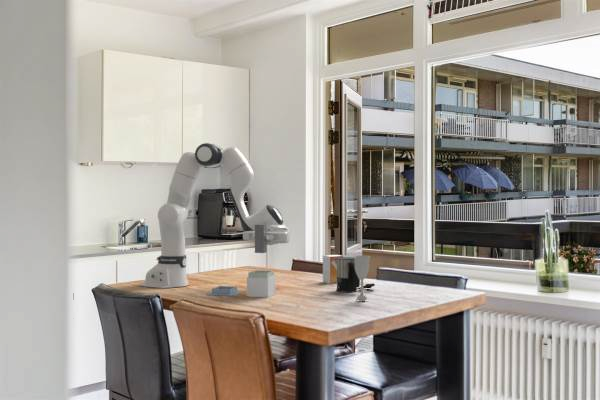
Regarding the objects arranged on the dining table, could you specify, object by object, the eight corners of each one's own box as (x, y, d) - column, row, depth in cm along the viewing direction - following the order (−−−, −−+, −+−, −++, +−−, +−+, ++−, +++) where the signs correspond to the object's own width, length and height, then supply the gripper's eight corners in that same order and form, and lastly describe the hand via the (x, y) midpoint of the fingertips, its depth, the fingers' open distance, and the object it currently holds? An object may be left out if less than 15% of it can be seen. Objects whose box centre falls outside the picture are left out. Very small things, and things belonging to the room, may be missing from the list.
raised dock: (246, 296, 266) (246, 272, 265) (254, 292, 275) (254, 269, 275) (268, 297, 263) (268, 273, 263) (275, 293, 272) (275, 270, 272)
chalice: (365, 303, 250) (365, 257, 249) (350, 301, 253) (350, 256, 253) (373, 300, 256) (373, 256, 255) (358, 298, 259) (358, 255, 259)
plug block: (254, 252, 267) (254, 224, 267) (258, 251, 271) (258, 224, 271) (263, 253, 266) (263, 224, 266) (266, 252, 270) (266, 224, 270)
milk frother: (331, 291, 279) (331, 257, 279) (354, 286, 291) (354, 254, 291) (356, 294, 270) (356, 260, 269) (378, 290, 281) (378, 257, 281)
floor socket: (206, 294, 270) (206, 289, 270) (217, 290, 281) (217, 285, 281) (232, 296, 266) (232, 290, 266) (242, 291, 278) (242, 286, 278)
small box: (330, 283, 300) (330, 256, 300) (322, 282, 306) (322, 255, 305) (343, 282, 305) (343, 255, 304) (335, 280, 310) (335, 254, 310)
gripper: (249, 227, 284) (237, 229, 270) (292, 228, 278) (282, 230, 265) (249, 241, 284) (237, 244, 271) (292, 242, 278) (282, 245, 265)
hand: (260, 237), depth 267 cm, fingers closed on plug block, 4 cm apart
